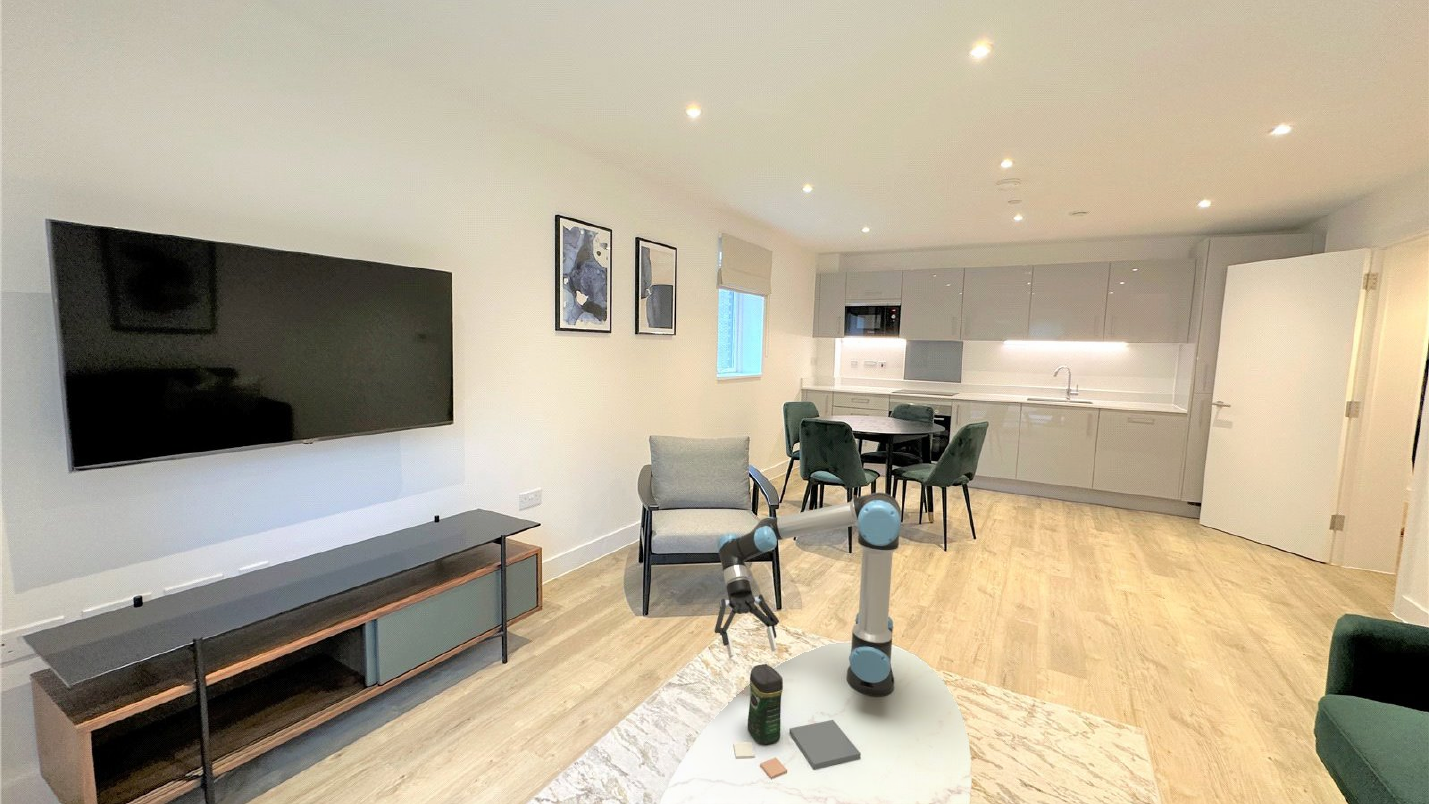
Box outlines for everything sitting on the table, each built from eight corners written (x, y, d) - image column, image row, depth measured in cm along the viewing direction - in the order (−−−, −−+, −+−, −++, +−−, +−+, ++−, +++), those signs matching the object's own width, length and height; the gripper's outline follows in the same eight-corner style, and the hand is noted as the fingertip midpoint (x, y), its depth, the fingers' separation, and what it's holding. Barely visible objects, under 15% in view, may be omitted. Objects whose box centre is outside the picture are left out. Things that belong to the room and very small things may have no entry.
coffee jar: (784, 741, 153) (788, 677, 151) (759, 748, 149) (762, 683, 148) (767, 719, 161) (770, 659, 160) (743, 726, 158) (746, 664, 156)
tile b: (751, 746, 151) (751, 742, 151) (754, 759, 146) (754, 755, 146) (733, 746, 150) (733, 742, 150) (735, 760, 145) (736, 756, 145)
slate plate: (832, 724, 160) (833, 719, 160) (860, 758, 147) (860, 753, 147) (789, 733, 156) (789, 728, 156) (813, 769, 143) (814, 764, 142)
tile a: (775, 761, 146) (775, 757, 145) (787, 774, 141) (787, 770, 141) (759, 767, 143) (760, 763, 143) (770, 781, 139) (771, 776, 139)
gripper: (769, 583, 181) (787, 651, 169) (696, 591, 173) (709, 662, 161) (777, 574, 176) (796, 643, 163) (702, 581, 168) (716, 655, 155)
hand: (753, 653), depth 162 cm, fingers open, 13 cm apart
